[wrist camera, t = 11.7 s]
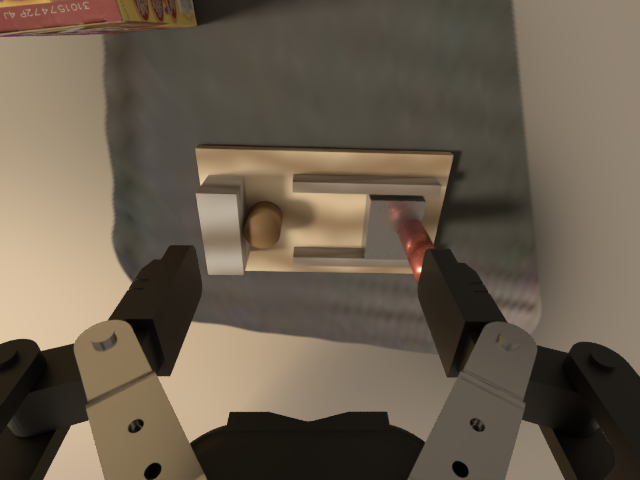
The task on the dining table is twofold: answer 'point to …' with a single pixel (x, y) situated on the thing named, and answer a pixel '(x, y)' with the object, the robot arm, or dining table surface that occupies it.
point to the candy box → (92, 16)
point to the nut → (263, 224)
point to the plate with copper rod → (396, 229)
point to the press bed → (308, 204)
